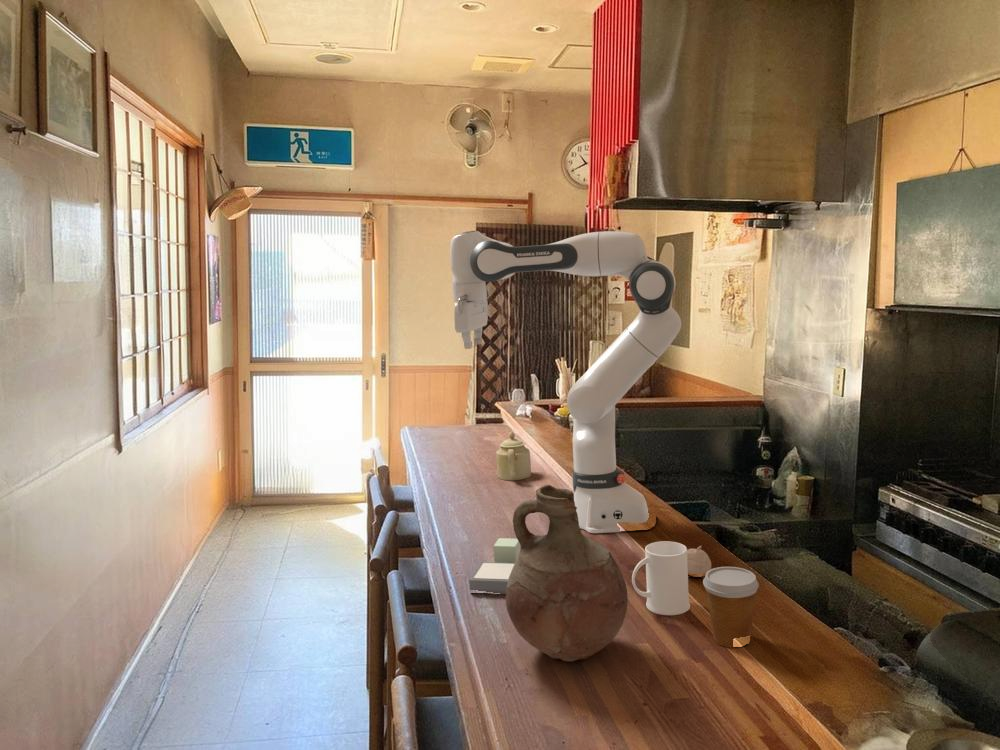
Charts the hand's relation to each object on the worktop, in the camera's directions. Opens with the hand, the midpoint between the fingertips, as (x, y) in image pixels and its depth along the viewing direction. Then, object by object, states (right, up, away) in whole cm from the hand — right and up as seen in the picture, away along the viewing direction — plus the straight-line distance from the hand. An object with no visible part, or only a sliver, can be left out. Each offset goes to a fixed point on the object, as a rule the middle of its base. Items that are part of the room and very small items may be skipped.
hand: (473, 346), depth 208 cm
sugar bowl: (+13, -41, +47) cm, 64 cm away
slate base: (+7, -53, -37) cm, 65 cm away
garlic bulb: (+49, -51, -39) cm, 81 cm away
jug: (+19, -57, -68) cm, 91 cm away
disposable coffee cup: (+49, -55, -67) cm, 100 cm away
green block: (+9, -52, -27) cm, 59 cm away
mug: (+39, -54, -53) cm, 85 cm away
